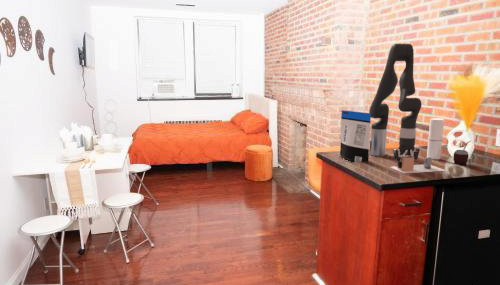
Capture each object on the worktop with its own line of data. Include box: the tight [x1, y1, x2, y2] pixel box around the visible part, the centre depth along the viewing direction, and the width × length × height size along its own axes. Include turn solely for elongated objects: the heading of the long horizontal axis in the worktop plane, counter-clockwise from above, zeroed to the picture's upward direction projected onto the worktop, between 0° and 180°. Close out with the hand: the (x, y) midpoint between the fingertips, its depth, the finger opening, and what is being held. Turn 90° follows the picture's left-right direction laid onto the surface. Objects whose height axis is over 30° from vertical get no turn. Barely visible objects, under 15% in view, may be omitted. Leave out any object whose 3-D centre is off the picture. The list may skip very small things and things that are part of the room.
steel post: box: [423, 156, 433, 169], centre depth 173 cm, size 3×3×6 cm
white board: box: [390, 164, 447, 174], centre depth 173 cm, size 24×13×2 cm, turn 99°
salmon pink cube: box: [397, 155, 415, 171], centre depth 171 cm, size 6×6×7 cm
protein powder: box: [339, 109, 372, 163], centre depth 196 cm, size 10×24×30 cm, turn 25°
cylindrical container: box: [426, 117, 445, 160], centre depth 193 cm, size 7×7×25 cm
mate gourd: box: [453, 140, 471, 166], centre depth 183 cm, size 8×8×15 cm
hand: (405, 167), depth 172 cm, fingers closed on salmon pink cube, 5 cm apart
